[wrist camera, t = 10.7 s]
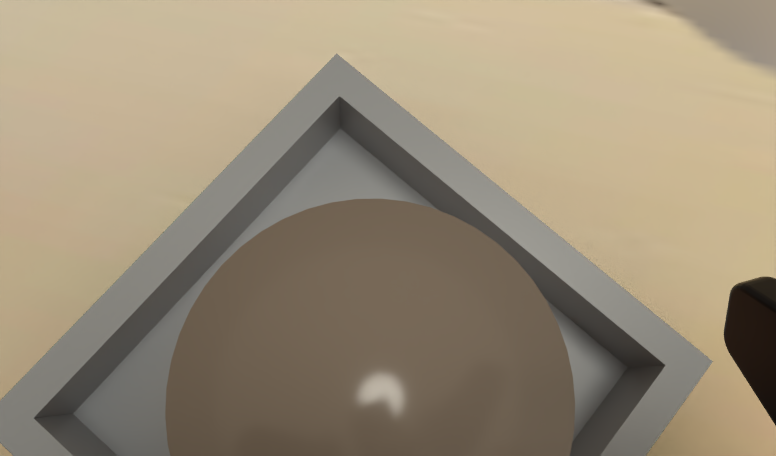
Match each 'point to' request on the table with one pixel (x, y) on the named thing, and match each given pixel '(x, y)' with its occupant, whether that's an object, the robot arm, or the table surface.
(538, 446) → the terracotta jar
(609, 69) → the table surface
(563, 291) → the tray
